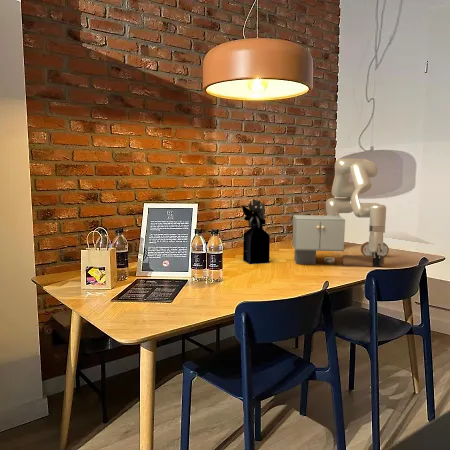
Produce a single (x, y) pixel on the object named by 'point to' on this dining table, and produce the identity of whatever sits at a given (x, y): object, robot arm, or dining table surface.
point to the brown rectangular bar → (361, 260)
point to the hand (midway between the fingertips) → (375, 264)
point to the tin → (367, 252)
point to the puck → (329, 260)
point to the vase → (256, 235)
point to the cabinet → (316, 236)
